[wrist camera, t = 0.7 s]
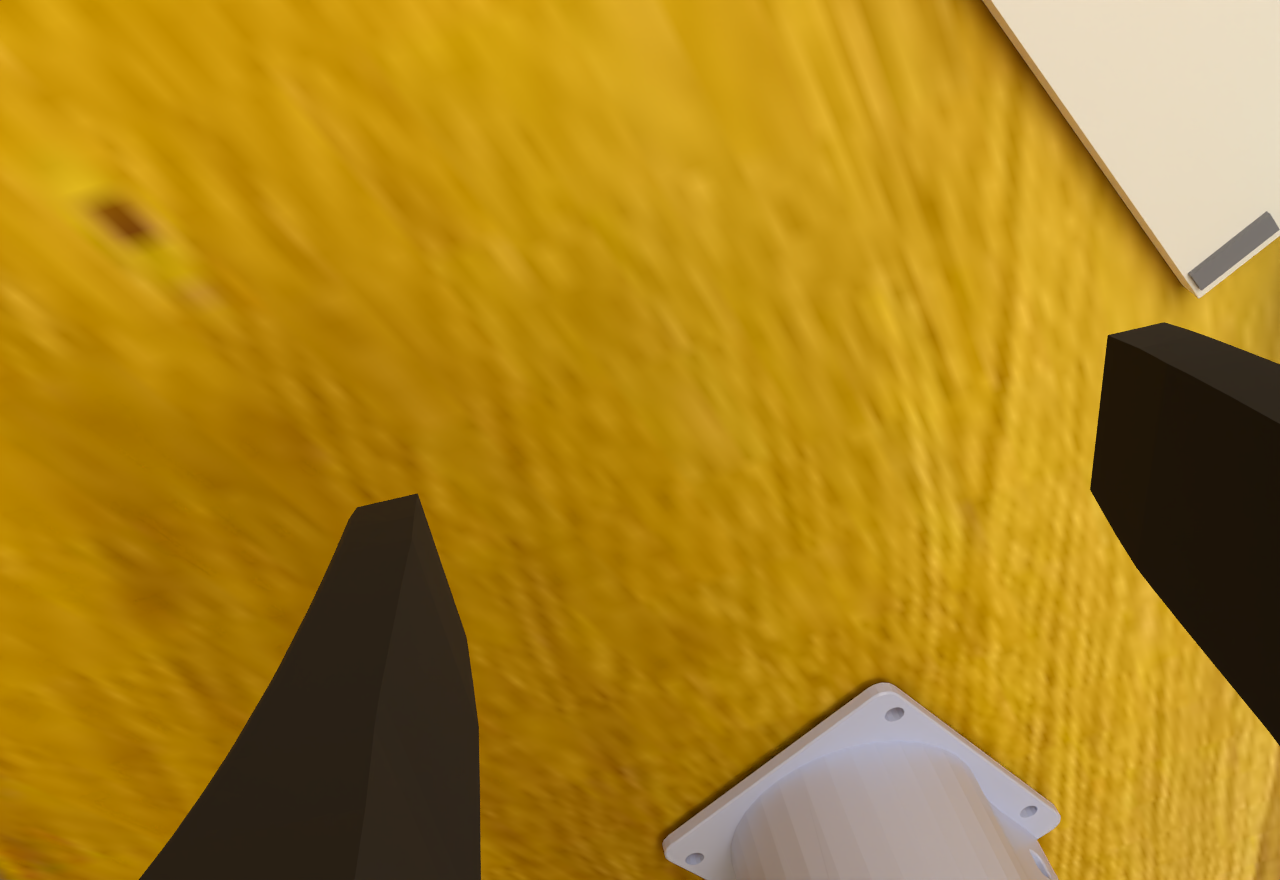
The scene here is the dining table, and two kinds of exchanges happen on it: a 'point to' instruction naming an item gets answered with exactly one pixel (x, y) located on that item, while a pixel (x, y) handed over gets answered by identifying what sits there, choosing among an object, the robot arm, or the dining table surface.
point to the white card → (1170, 114)
